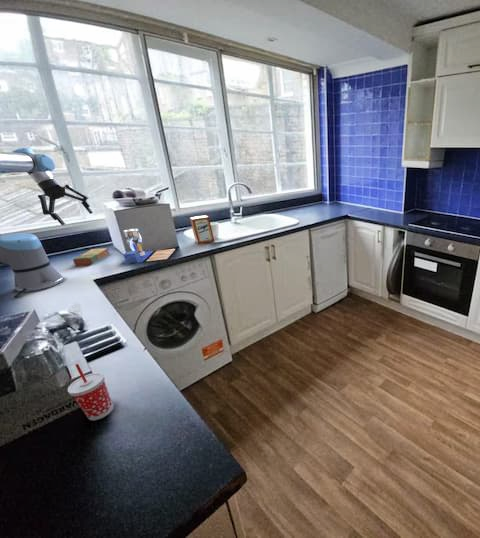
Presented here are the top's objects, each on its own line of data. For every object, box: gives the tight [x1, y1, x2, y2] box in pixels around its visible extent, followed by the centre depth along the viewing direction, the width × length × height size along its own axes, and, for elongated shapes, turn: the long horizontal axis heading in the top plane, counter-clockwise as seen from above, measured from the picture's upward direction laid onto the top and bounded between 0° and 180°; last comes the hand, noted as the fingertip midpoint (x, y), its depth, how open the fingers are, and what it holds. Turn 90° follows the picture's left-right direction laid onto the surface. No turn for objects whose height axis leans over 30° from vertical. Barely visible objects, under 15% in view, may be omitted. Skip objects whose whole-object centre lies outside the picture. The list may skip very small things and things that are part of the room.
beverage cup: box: [67, 363, 114, 421], centre depth 65 cm, size 6×6×14 cm
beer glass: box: [123, 228, 146, 257], centre depth 162 cm, size 7×7×15 cm
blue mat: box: [121, 250, 155, 265], centre depth 163 cm, size 18×10×1 cm, turn 17°
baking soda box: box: [189, 215, 215, 245], centre depth 187 cm, size 10×6×16 cm
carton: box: [72, 247, 110, 267], centre depth 161 cm, size 8×16×4 cm, turn 12°
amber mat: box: [146, 248, 176, 262], centre depth 166 cm, size 18×10×1 cm, turn 17°
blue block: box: [122, 250, 141, 264], centre depth 157 cm, size 5×5×5 cm
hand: (77, 219), depth 156 cm, fingers open, 13 cm apart
